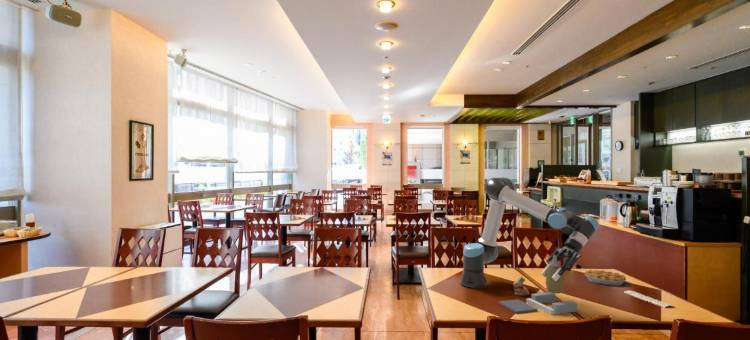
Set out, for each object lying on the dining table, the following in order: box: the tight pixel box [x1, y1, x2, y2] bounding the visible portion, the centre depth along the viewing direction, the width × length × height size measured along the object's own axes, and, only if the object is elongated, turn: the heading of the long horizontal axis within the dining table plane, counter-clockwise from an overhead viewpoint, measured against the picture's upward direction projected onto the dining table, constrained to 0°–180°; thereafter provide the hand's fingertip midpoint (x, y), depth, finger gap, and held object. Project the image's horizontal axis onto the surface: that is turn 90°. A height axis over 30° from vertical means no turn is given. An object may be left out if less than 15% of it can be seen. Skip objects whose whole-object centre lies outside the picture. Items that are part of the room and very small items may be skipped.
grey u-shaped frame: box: [525, 291, 578, 316], centre depth 179 cm, size 17×15×4 cm
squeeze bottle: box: [545, 255, 565, 294], centre depth 179 cm, size 8×8×18 cm
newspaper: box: [623, 289, 675, 309], centre depth 190 cm, size 24×7×2 cm, turn 10°
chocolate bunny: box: [512, 276, 530, 297], centre depth 198 cm, size 6×8×10 cm
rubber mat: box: [497, 298, 539, 315], centre depth 178 cm, size 14×12×1 cm
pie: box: [584, 269, 627, 286], centre depth 224 cm, size 22×22×5 cm
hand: (548, 277), depth 178 cm, fingers closed on squeeze bottle, 6 cm apart
